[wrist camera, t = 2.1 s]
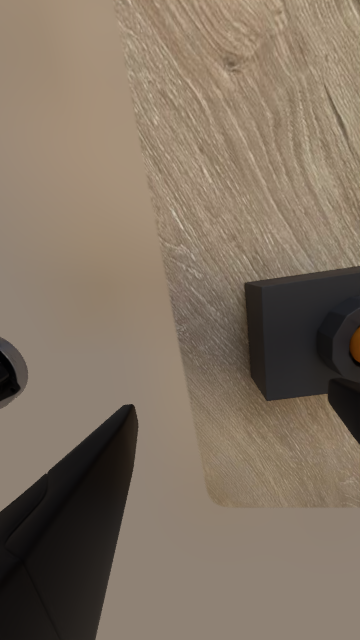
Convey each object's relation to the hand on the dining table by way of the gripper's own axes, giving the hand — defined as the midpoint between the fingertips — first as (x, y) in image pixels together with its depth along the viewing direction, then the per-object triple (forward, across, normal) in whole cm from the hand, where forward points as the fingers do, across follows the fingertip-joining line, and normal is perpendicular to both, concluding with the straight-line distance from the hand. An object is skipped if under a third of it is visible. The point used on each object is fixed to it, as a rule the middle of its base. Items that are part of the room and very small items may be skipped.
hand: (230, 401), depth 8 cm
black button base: (+13, -10, +2) cm, 17 cm away
